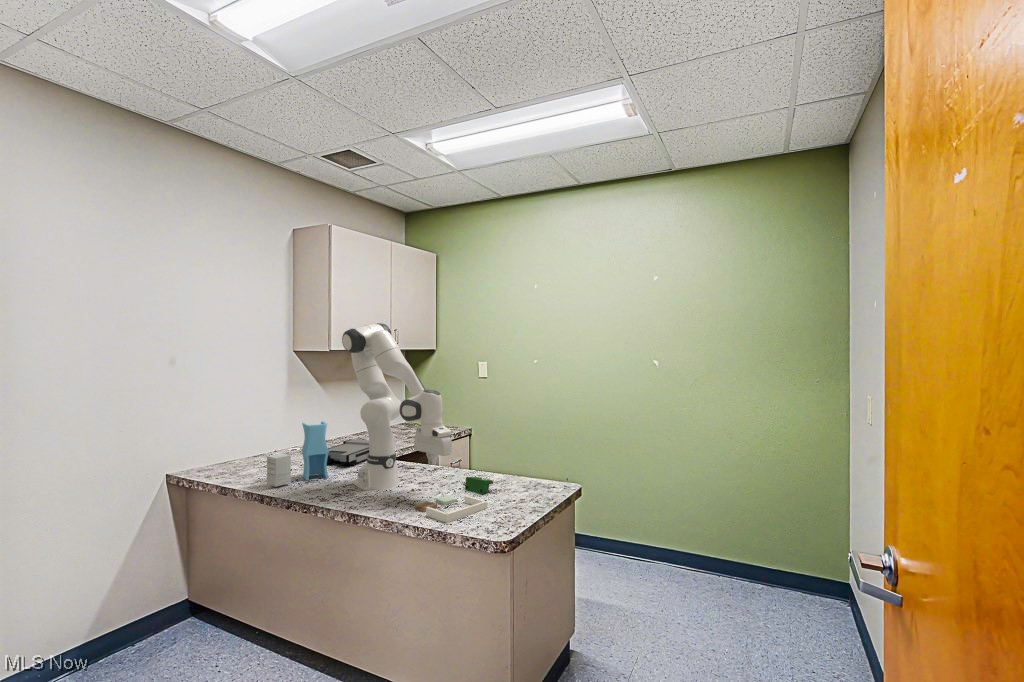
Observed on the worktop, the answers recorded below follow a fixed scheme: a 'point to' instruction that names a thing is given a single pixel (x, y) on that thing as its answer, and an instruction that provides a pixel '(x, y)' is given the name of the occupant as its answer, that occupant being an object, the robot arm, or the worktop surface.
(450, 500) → the sage tile
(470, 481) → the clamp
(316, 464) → the blue toy chair
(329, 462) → the game console
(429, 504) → the walnut tile
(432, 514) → the white u-shaped frame
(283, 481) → the supplement box
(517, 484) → the worktop surface
